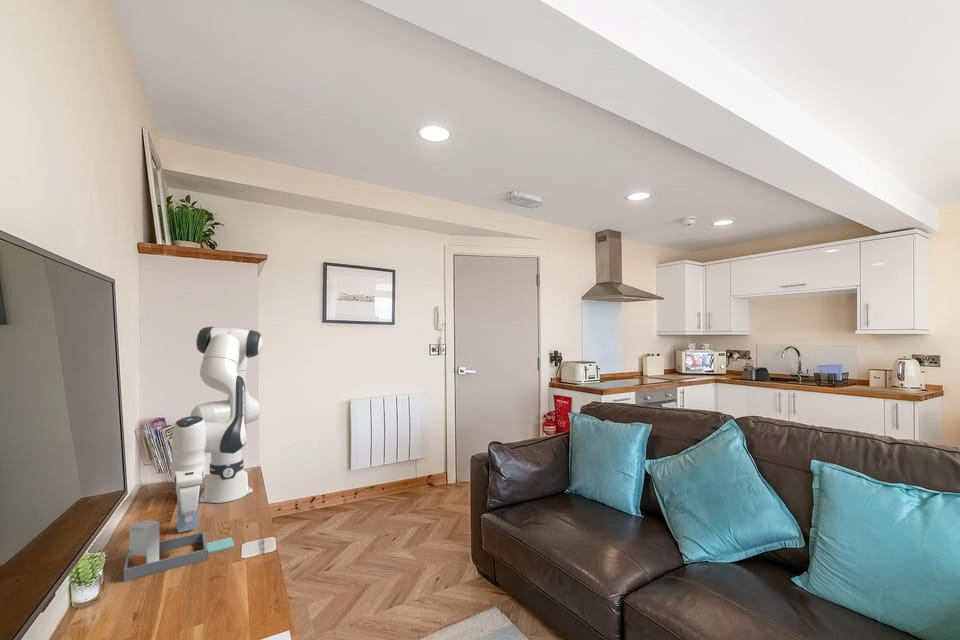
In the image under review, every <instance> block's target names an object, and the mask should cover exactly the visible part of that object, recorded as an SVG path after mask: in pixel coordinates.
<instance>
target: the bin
mask: <svg viewBox="0 0 960 640" xmlns="http://www.w3.org/2000/svg"><path fill="white" fill-rule="evenodd" d="M206 543H207V539H206V534H205V531H200V532H196V533H192V534H188V535H187V534H186V535H183V536H179V537H174V538H171V539H165V540H161V541H160V540H159V553H162V552H168V551H171V550H175V549H179V548H183V547H188V546H191V545H197V544H201V545H202V549H201V550H195V551H192V552H189V553H184V554H180V555H176V556H173V557H167V558H163V559H159V561H155V562H151V563H147V564H143V565H139V566H135V567H131V568H129V548H127V552H126V556H125V562H124V568H123V582H126V581H130V580H134V579H138V578H142V577H146V576H151V575H154V574H158V573H162V572H165V571H171V570H173V569H177V568H180V567H184V566H189V565H192V564H196V563H200V562H203V561H208V551H207V545H206Z"/></svg>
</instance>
